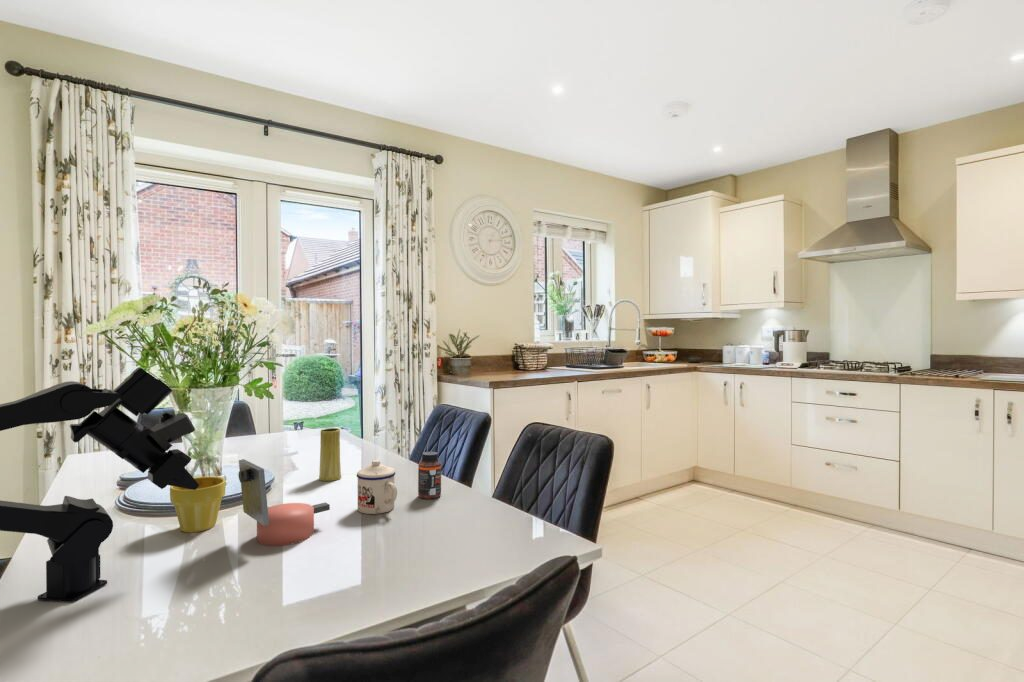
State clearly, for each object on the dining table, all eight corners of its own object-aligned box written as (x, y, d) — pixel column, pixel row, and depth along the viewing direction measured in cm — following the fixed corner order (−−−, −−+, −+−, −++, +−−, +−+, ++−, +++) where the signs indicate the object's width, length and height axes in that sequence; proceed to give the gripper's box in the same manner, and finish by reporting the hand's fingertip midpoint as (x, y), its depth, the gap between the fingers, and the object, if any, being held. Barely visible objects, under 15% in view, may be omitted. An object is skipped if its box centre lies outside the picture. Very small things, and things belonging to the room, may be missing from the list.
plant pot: (200, 538, 109) (200, 491, 109) (158, 534, 111) (157, 487, 111) (236, 520, 119) (236, 477, 119) (196, 517, 121) (196, 474, 121)
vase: (318, 477, 155) (318, 428, 155) (339, 474, 158) (339, 427, 157) (320, 482, 150) (320, 432, 149) (342, 480, 152) (342, 430, 152)
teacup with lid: (348, 509, 127) (348, 461, 127) (379, 500, 134) (380, 454, 134) (379, 520, 120) (379, 469, 119) (410, 510, 127) (411, 462, 127)
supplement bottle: (439, 499, 135) (439, 455, 135) (416, 499, 135) (416, 455, 135) (442, 492, 141) (442, 450, 141) (420, 492, 141) (420, 450, 141)
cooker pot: (269, 550, 103) (269, 525, 103) (248, 535, 111) (248, 511, 111) (339, 530, 114) (339, 507, 113) (316, 517, 121) (316, 496, 121)
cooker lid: (269, 524, 103) (255, 528, 101) (248, 510, 111) (235, 514, 109) (263, 469, 102) (249, 472, 100) (243, 459, 110) (230, 462, 108)
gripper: (176, 405, 88) (246, 460, 96) (150, 395, 101) (214, 444, 109) (118, 460, 83) (198, 513, 91) (99, 442, 96) (170, 490, 104)
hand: (196, 487), depth 99 cm, fingers closed
